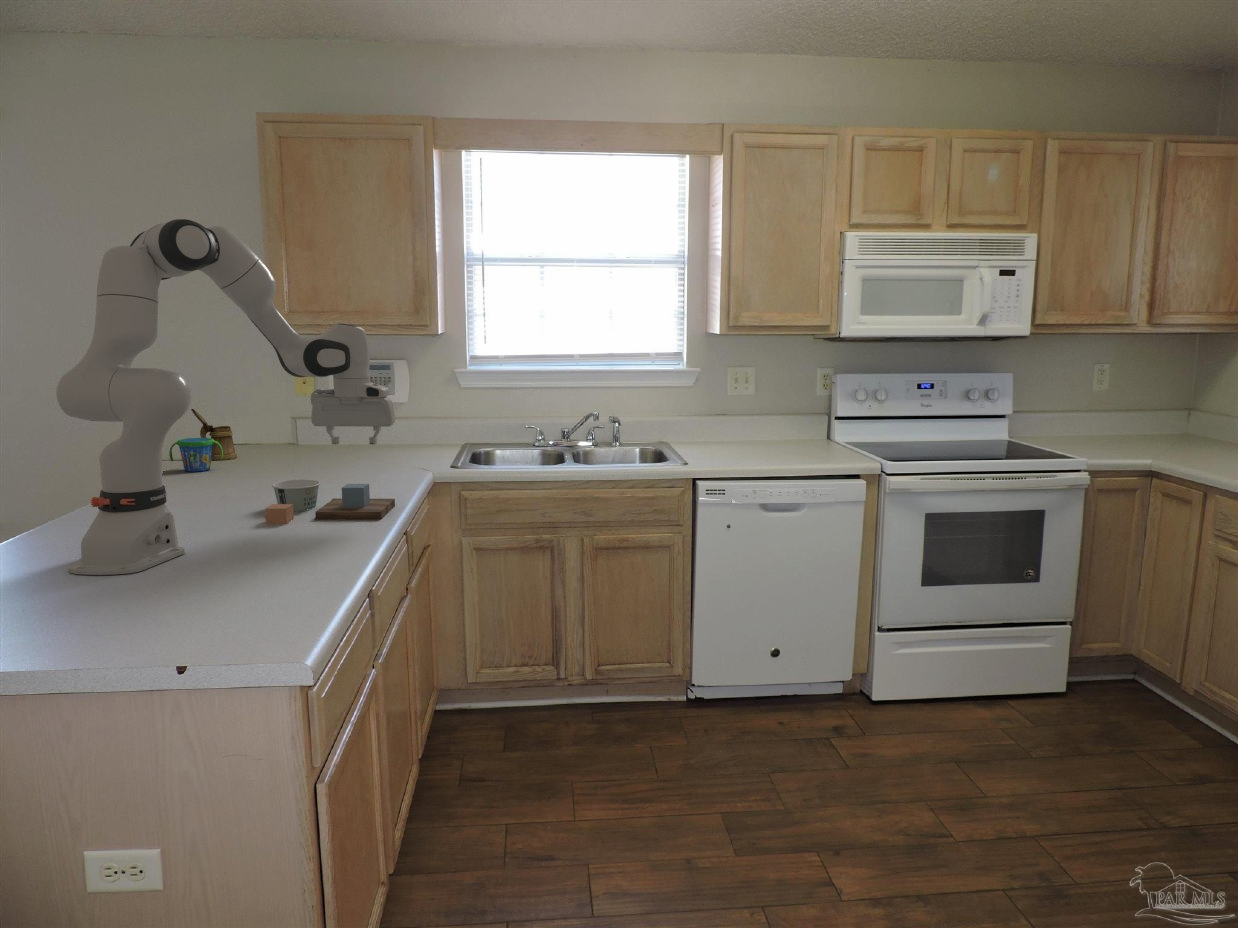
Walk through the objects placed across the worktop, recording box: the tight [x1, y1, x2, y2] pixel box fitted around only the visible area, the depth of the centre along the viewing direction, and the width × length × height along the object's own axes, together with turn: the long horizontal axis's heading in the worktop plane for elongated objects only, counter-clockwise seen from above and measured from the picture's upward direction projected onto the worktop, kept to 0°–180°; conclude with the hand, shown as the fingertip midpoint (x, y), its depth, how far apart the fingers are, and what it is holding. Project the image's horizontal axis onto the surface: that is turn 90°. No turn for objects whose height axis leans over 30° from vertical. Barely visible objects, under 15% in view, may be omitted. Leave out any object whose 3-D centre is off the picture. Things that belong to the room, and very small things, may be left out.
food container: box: [271, 478, 321, 512], centre depth 229 cm, size 12×12×6 cm
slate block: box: [341, 483, 371, 507], centre depth 223 cm, size 6×6×5 cm
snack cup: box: [168, 437, 223, 473], centre depth 282 cm, size 16×10×10 cm
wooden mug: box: [191, 408, 238, 461], centre depth 304 cm, size 9×14×18 cm, turn 111°
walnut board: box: [314, 498, 396, 521], centre depth 224 cm, size 16×16×2 cm
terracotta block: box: [264, 503, 295, 525], centre depth 213 cm, size 5×5×4 cm
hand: (354, 444), depth 220 cm, fingers open, 8 cm apart
